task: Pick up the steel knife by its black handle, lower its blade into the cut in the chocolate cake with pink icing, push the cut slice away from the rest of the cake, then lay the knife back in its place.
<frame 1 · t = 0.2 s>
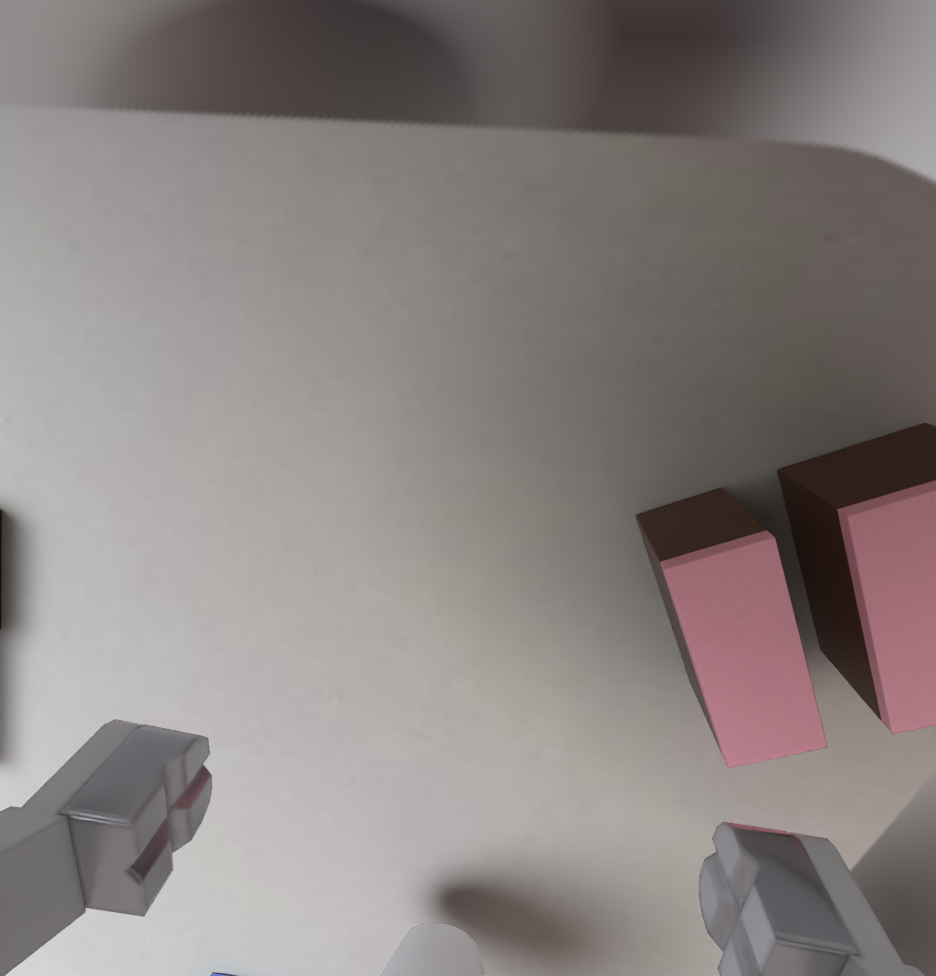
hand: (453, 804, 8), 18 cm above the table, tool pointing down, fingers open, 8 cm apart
cup: (447, 894, 35), on the table
cake: (868, 545, 24), on the table
cake slice: (704, 591, 26), on the table
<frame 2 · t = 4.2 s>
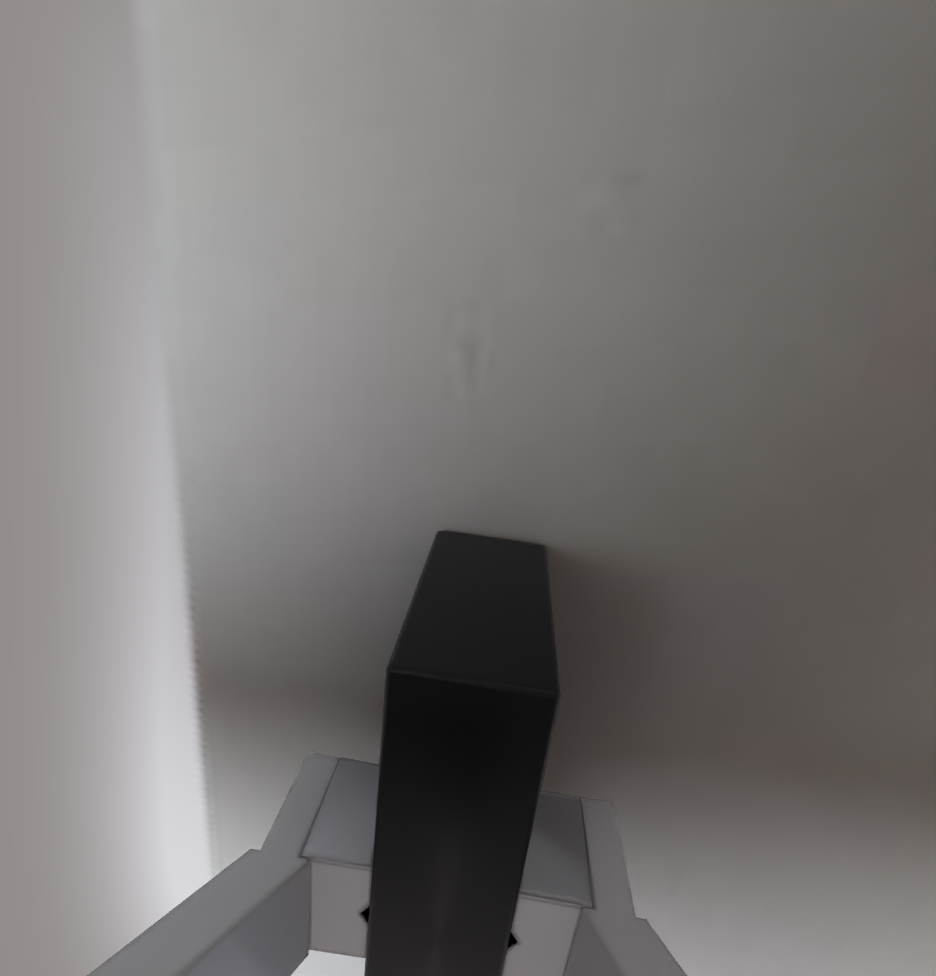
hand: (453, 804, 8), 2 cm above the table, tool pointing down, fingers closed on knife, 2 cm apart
knife: (444, 875, 11), on the table, touching gripper
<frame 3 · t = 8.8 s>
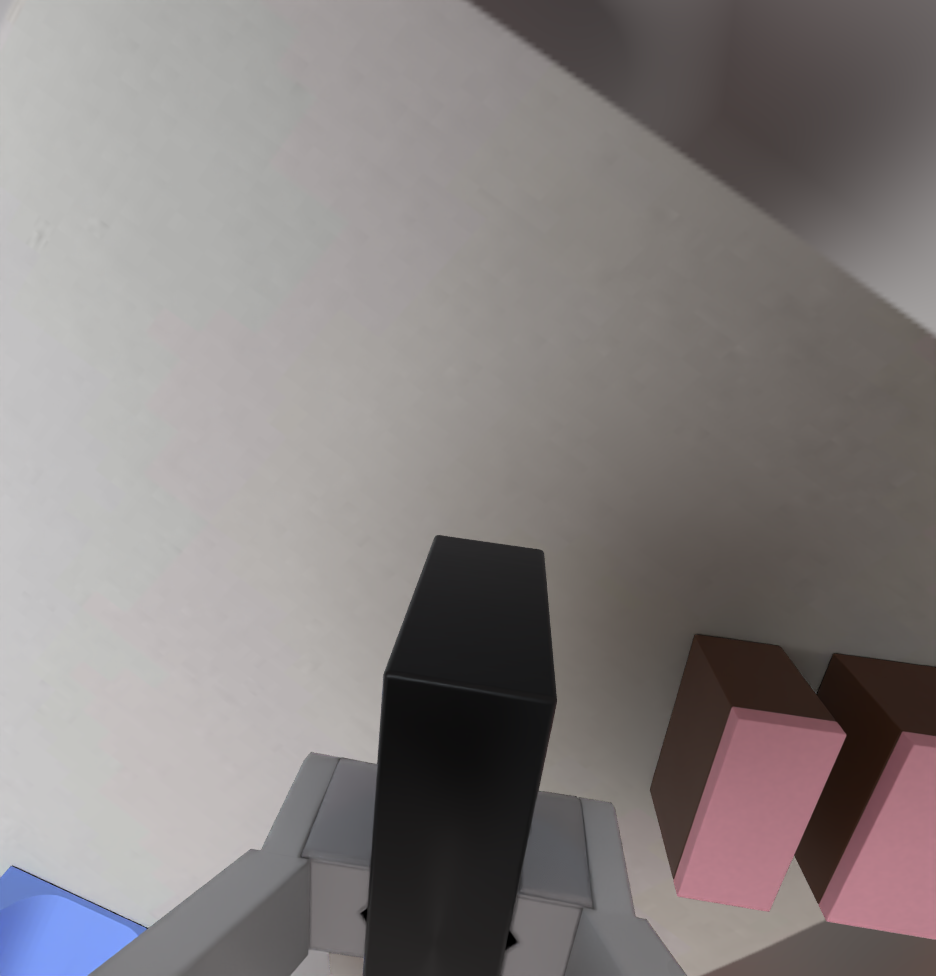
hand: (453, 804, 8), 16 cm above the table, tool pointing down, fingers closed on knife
cup: (310, 879, 34), on the table
cake: (862, 744, 26), on the table
knife: (443, 878, 11), point 15 cm above the table, touching gripper
cake slice: (710, 722, 27), on the table
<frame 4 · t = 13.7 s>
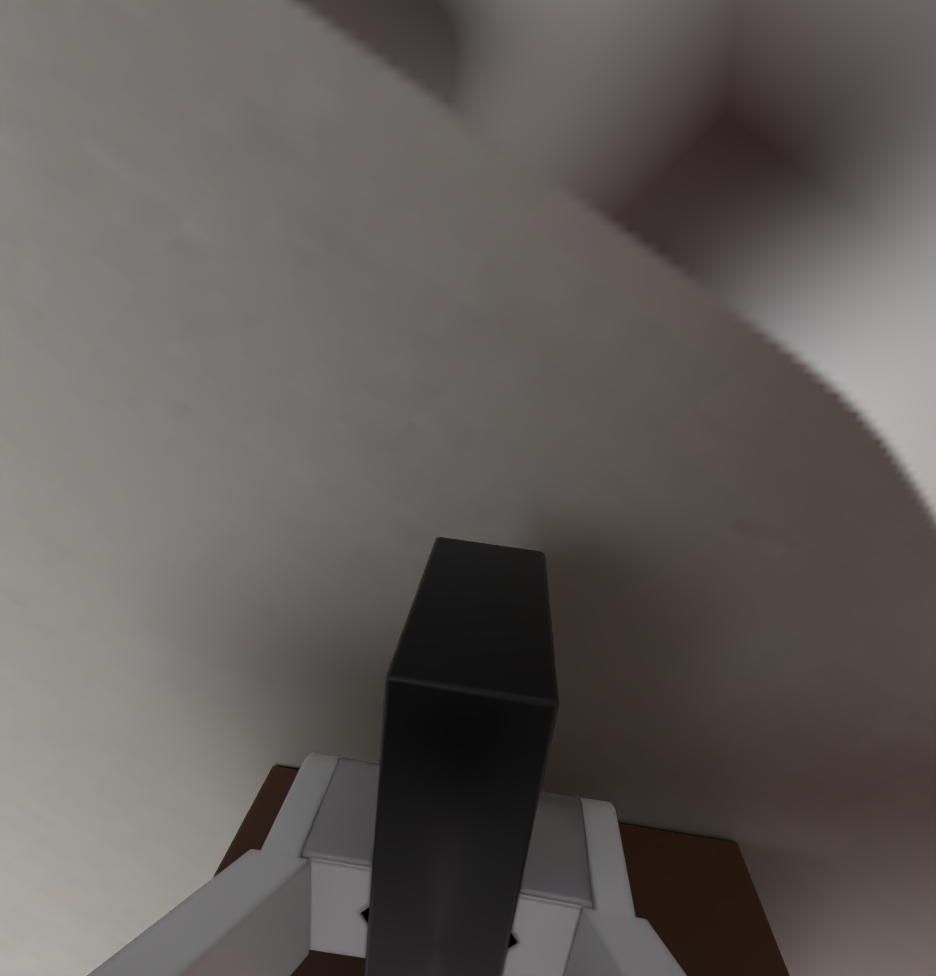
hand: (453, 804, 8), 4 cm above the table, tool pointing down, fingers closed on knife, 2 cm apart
cake: (586, 944, 16), on the table
knife: (444, 879, 11), point 3 cm above the table, touching gripper
cake slice: (339, 900, 16), on the table
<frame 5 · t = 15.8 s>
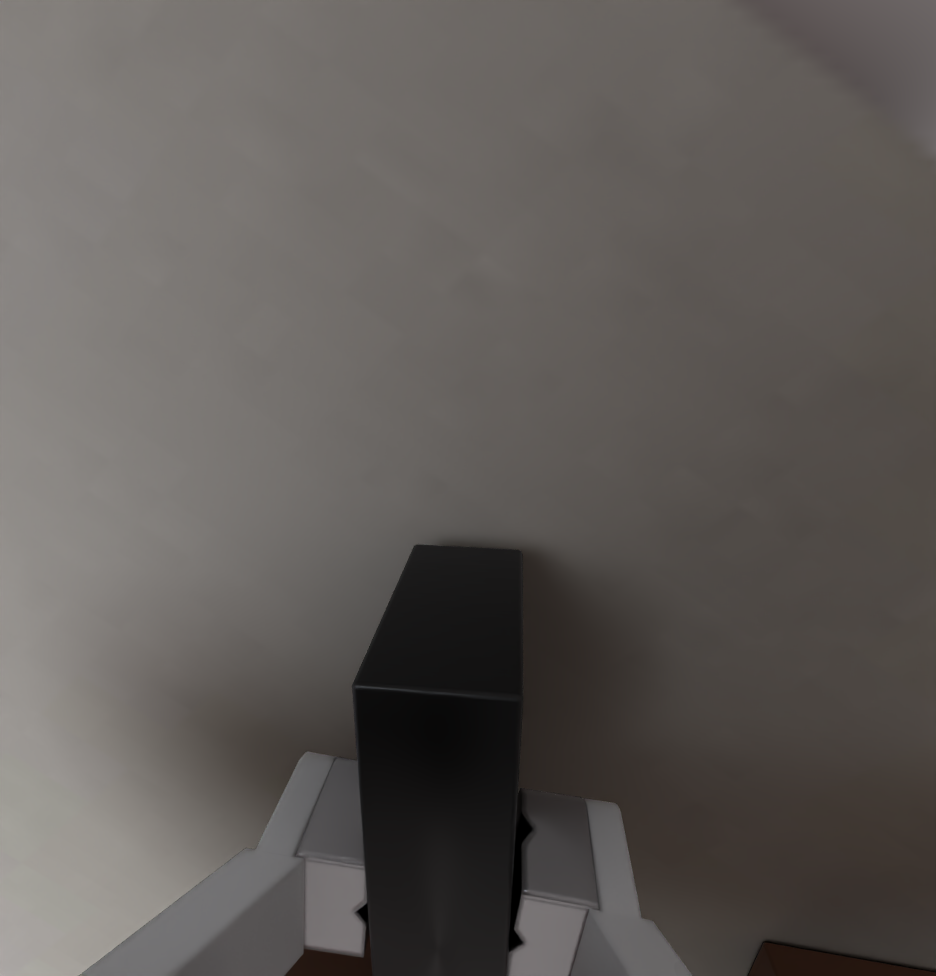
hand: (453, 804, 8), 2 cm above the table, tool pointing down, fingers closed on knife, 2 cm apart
knife: (462, 886, 11), point 1 cm above the table, touching cake slice, gripper
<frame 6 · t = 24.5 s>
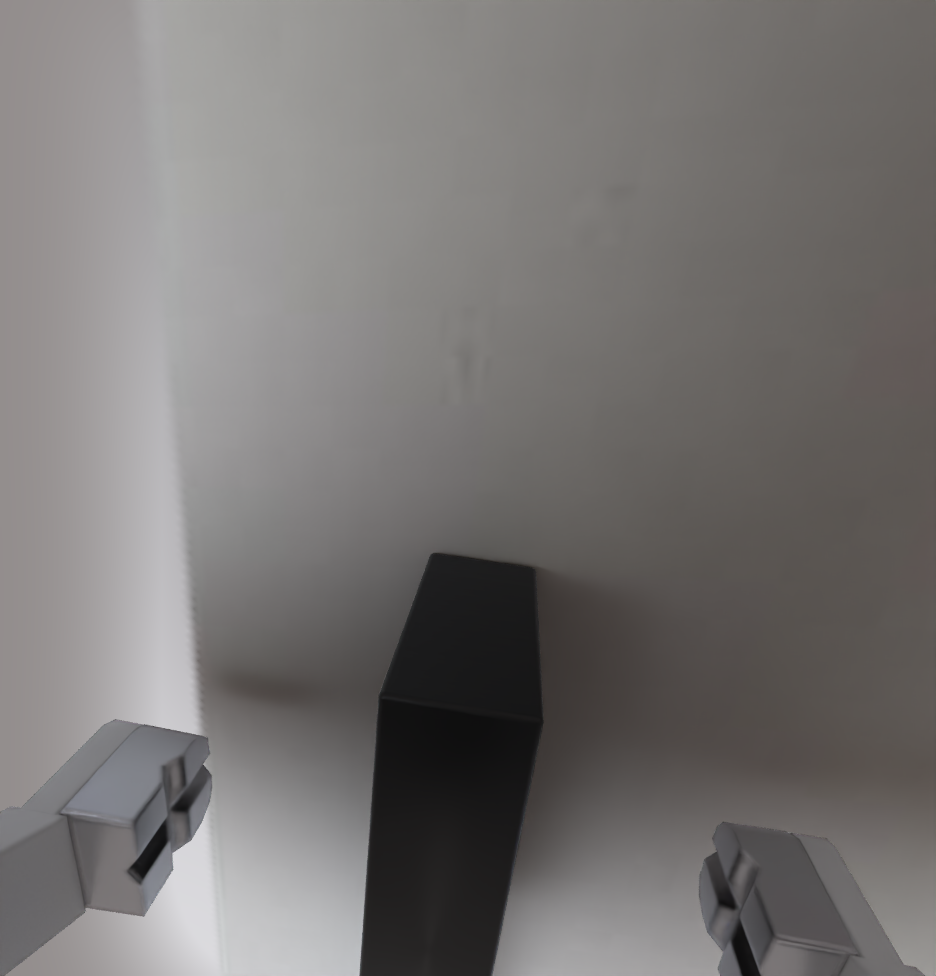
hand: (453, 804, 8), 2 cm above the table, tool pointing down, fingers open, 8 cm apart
knife: (439, 884, 12), on the table
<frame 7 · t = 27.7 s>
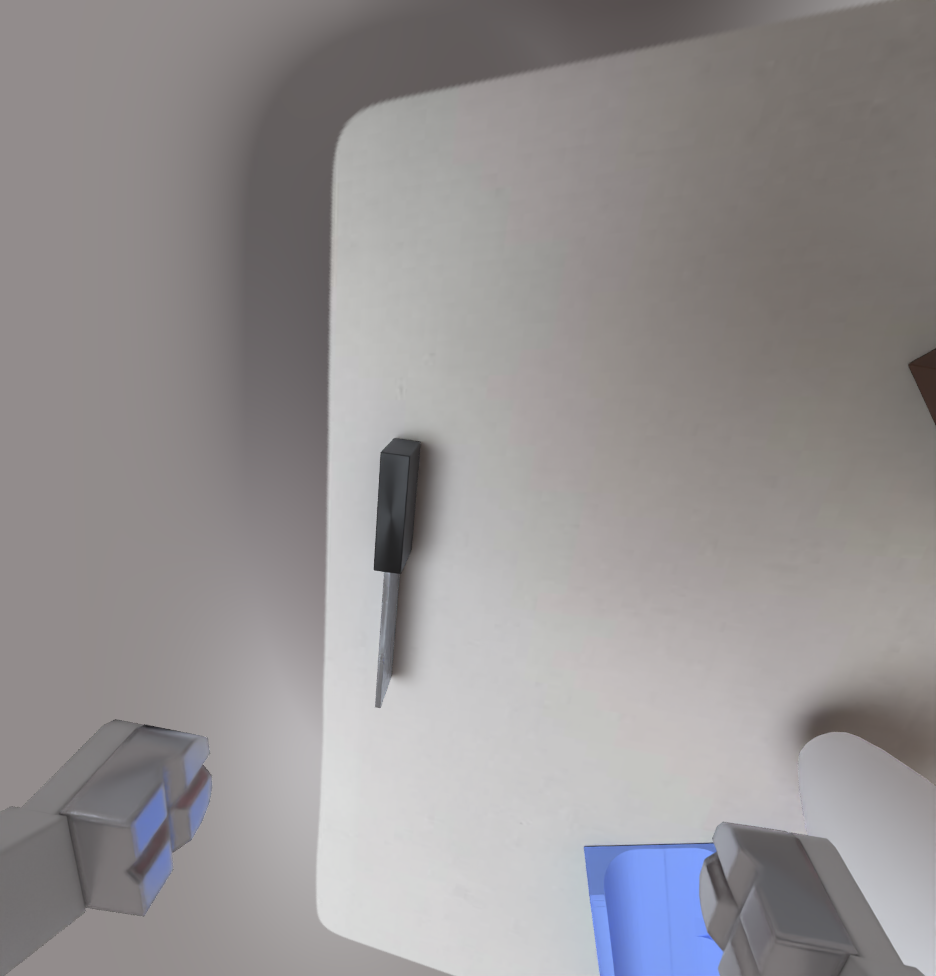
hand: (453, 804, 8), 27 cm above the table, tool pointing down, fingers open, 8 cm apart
cup: (810, 723, 39), on the table
knife: (399, 548, 38), on the table
half pipe: (687, 915, 47), on the table
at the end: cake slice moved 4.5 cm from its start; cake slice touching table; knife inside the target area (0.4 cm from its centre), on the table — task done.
